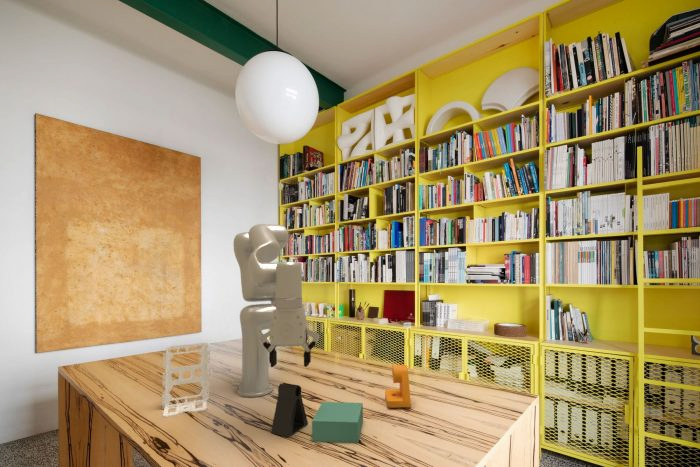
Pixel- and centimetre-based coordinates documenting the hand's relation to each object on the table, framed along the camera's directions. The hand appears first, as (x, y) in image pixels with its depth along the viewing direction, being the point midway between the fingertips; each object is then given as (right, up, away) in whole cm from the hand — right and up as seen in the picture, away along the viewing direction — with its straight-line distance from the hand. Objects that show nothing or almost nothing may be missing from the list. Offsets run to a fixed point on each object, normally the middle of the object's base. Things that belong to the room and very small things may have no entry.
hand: (290, 365), depth 98 cm
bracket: (+33, -18, +15) cm, 40 cm away
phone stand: (0, -17, -1) cm, 18 cm away
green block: (+14, -17, -3) cm, 22 cm away
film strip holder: (-38, -20, +17) cm, 46 cm away
